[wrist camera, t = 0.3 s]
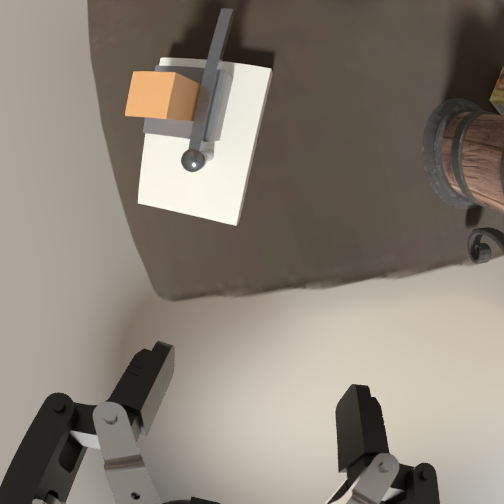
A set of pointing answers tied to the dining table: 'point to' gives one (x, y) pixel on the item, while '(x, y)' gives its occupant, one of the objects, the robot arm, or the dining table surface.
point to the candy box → (498, 94)
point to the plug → (172, 100)
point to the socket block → (209, 151)
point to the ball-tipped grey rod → (207, 93)
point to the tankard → (467, 163)
